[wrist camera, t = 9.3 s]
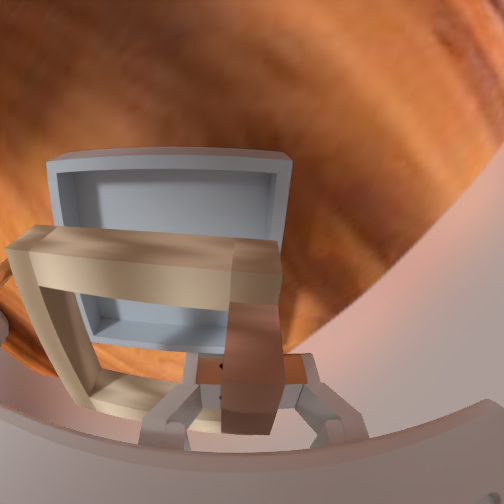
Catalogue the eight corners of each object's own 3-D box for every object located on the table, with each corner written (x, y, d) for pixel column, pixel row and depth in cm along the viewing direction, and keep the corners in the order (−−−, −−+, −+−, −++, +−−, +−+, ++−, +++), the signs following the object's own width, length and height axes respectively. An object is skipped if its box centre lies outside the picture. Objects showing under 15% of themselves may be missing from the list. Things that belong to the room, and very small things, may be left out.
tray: (99, 317, 30) (88, 341, 26) (69, 152, 21) (45, 161, 17) (260, 327, 32) (264, 354, 28) (283, 151, 23) (292, 161, 19)
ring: (88, 377, 20) (60, 443, 14) (35, 224, 13) (-42, 291, 7) (252, 402, 20) (252, 483, 14) (277, 240, 14) (294, 351, 8)
